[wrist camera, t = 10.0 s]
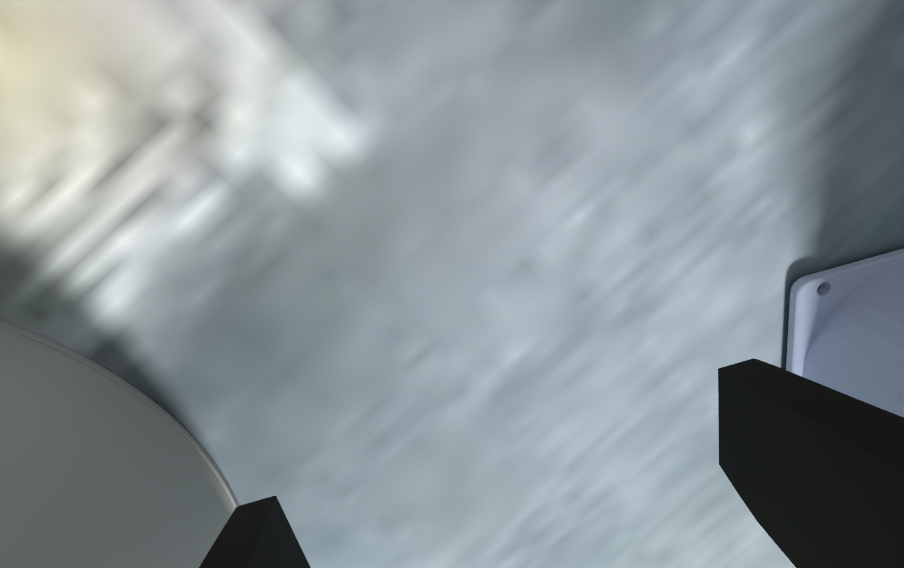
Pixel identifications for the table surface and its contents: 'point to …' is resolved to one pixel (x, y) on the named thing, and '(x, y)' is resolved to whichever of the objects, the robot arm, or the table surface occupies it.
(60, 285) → the table surface
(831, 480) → the robot arm
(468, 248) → the table surface
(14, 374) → the kettle
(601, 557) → the table surface
